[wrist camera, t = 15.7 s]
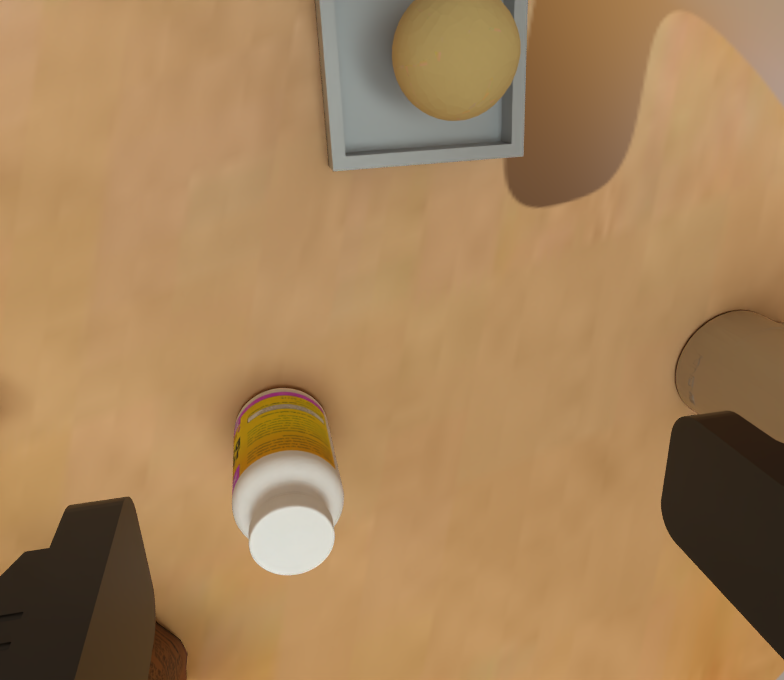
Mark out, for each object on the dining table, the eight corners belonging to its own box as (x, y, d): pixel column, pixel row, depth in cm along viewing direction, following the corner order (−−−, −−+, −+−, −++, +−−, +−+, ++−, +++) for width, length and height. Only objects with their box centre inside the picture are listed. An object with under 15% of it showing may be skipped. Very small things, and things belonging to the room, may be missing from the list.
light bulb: (348, 68, 39) (379, 66, 30) (412, -28, 37) (465, -61, 28) (430, 134, 41) (482, 151, 32) (493, 46, 40) (565, 38, 31)
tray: (513, -58, 38) (529, -66, 36) (509, 152, 43) (523, 156, 41) (310, -54, 36) (314, -62, 34) (328, 166, 41) (333, 171, 39)
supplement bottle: (224, 396, 45) (215, 506, 34) (317, 375, 46) (341, 476, 35) (246, 475, 48) (246, 603, 36) (334, 453, 49) (361, 572, 37)
